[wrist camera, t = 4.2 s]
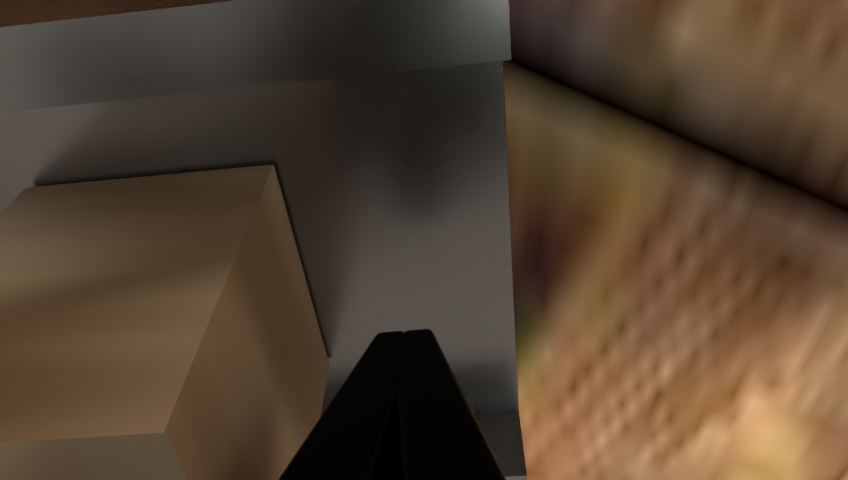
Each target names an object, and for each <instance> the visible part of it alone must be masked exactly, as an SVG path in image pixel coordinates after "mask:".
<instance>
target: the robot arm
mask: <svg viewBox="0 0 848 480" xmlns="http://www.w3.org/2000/svg"><path fill="white" fill-rule="evenodd" d="M278 480H506V478H505V476H504V474H503V472H502V470H501V468H500V466H499V464H498V462H497V460H496V458H495V456H494V454H493V452H492V450H491V448H490V446H489V444H488V442H487V440H486V438H485V436H484V434H483V432H482V430H481V428H480V426H479V424H478V422H477V420H476V418H475V416H474V414H473V412H472V410H471V408H470V406H469V404H468V402H467V400H466V398H465V396H464V394H463V392H462V390H461V387H460V385H459V383H458V381H457V379H456V377H455V375H454V373H453V371H452V369H451V367H450V365H449V363H448V361H447V359H446V357H445V355H444V353H443V351H442V349H441V347H440V345H439V343H438V341H437V339H436V337H435V335H434V333H433V332H432V330H430V329H417V330H407V331H405V332H403V331H391V332H381V333H378V334H377V335H376V336H375V337H374V339H373V340H372V342H371V343H370V345H369V346H368V348H367V349H366V351H365V352H364V354H363V355H362V356H361V358H360V359H359V361H358V362H357V364H356V365H355V367H354V368H353V370H352V371H351V373H350V374H349V376H348V377H347V379H346V380H345V382H344V383H343V385H342V386H341V388H340V389H339V390H338V392H337V393H336V395H335V396H334V398H333V399H332V401H331V402H330V404H329V405H328V407H327V408H326V410H325V411H324V413H323V414H322V416H321V417H320V419H319V420H318V421H317V423H316V424H315V426H314V427H313V429H312V430H311V432H310V433H309V435H308V436H307V438H306V439H305V441H304V442H303V444H302V445H301V447H300V448H299V450H298V451H297V453H296V454H295V455H294V457H293V458H292V460H291V461H290V463H289V464H288V466H287V467H286V469H285V470H284V472H283V473H282V475H281V476H280V478H279V479H278Z"/></svg>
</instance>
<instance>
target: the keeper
mask: <svg viewBox="0 0 848 480" xmlns="http://www.w3.org/2000/svg"><path fill="white" fill-rule="evenodd" d="M329 366H330V365H329V361H328V358H327V354H326V350H325V347H324V343H323V340H322V336H321V332H320V329H319V325H318V322H317V318H316V315H315V311H314V307H313V304H312V300H311V297H310V293H309V290H308V286H307V282H306V279H305V275H304V272H303V268H302V264H301V261H300V257H299V254H298V250H297V247H296V243H295V239H294V236H293V232H292V229H291V225H290V221H289V218H288V214H287V211H286V207H285V204H284V200H283V196H282V193H281V189H280V186H279V182H278V179H277V175H276V171H275V168H274V164H273V165H262V166H252V167H241V168H230V169H220V170H209V171H198V172H187V173H177V174H166V175H155V176H145V177H134V178H123V179H112V180H102V181H91V182H80V183H70V184H59V185H48V186H37V187H27V188H25V189H24V190H23V191H22V192H21V193H20V194H19V195H18V196H17V197H16V198H15V199H14V200H13V202H12V203H11V204H10V205H9V206H8V207H7V208H6V209H5V210H4V211H3V212H2V213H1V214H0V480H278V479H279V478H280V476H281V475H282V473H283V472H284V470H285V469H286V467H287V466H288V464H289V463H290V461H291V460H292V458H293V457H294V455H295V454H296V453H297V451H298V450H299V448H300V447H301V445H302V444H303V442H304V441H305V439H306V438H307V436H308V435H309V433H310V432H311V430H312V429H313V427H314V426H315V424H316V423H317V421H318V420H319V419H320V417H321V411H322V405H323V400H324V394H325V389H326V383H327V377H328V372H329Z"/></svg>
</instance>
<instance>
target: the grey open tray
mask: <svg viewBox="0 0 848 480" xmlns="http://www.w3.org/2000/svg"><path fill="white" fill-rule="evenodd" d="M505 60H511V39H510V12H509V0H0V214H1V213H2V212H3V211H4V210H5V209H6V208H7V207H8V206H9V205H10V204H11V203H12V202H13V200H14V199H15V198H16V197H17V196H18V195H19V194H20V193H21V192H22V191H23V190H24V189H25V188H27V187H37V186H48V185H59V184H70V183H80V182H91V181H102V180H112V179H123V178H134V177H145V176H155V175H166V174H177V173H187V172H198V171H209V170H220V169H230V168H241V167H252V166H262V165H273V164H274V168H275V171H276V175H277V179H278V182H279V186H280V189H281V193H282V196H283V200H284V204H285V207H286V211H287V214H288V218H289V221H290V225H291V229H292V232H293V236H294V239H295V243H296V247H297V250H298V254H299V257H300V261H301V264H302V268H303V272H304V275H305V279H306V282H307V286H308V290H309V293H310V297H311V300H312V304H313V307H314V311H315V315H316V318H317V322H318V325H319V329H320V332H321V336H322V340H323V343H324V347H325V350H326V354H327V358H328V361H329V365H330V366H329V372H328V377H327V383H326V389H325V394H324V400H323V405H322V411H321V416H322V414H323V413H324V411H325V410H326V408H327V407H328V405H329V404H330V402H331V401H332V399H333V398H334V396H335V395H336V393H337V392H338V390H339V389H340V388H341V386H342V385H343V383H344V382H345V380H346V379H347V377H348V376H349V374H350V373H351V371H352V370H353V368H354V367H355V365H356V364H357V362H358V361H359V359H360V358H361V356H362V355H363V354H364V352H365V351H366V349H367V348H368V346H369V345H370V343H371V342H372V340H373V339H374V337H375V336H376V335H377V334H378V333H381V332H391V331H403V332H405V331H407V330H417V329H430V330H432V332H433V333H434V335H435V337H436V339H437V341H438V343H439V345H440V347H441V349H442V351H443V353H444V355H445V357H446V359H447V361H448V363H449V365H450V367H451V369H452V371H453V373H454V375H455V377H456V379H457V381H458V383H459V385H460V387H461V390H462V392H463V394H464V396H465V398H466V400H467V402H468V404H469V406H470V408H471V410H472V412H473V414H474V416H475V418H476V420H477V422H478V424H479V426H480V428H481V430H482V432H483V434H484V436H485V438H486V440H487V442H488V444H489V446H490V448H491V450H492V452H493V454H494V456H495V458H496V460H497V462H498V464H499V466H500V468H501V470H502V472H503V474H504V476H505V478H506V480H527V474H526V466H525V458H524V450H523V443H522V435H521V427H520V419H519V410H518V387H517V365H516V343H515V320H514V298H513V276H512V253H511V231H510V209H509V186H508V164H507V142H506V119H505V97H504V75H503V61H505Z"/></svg>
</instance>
